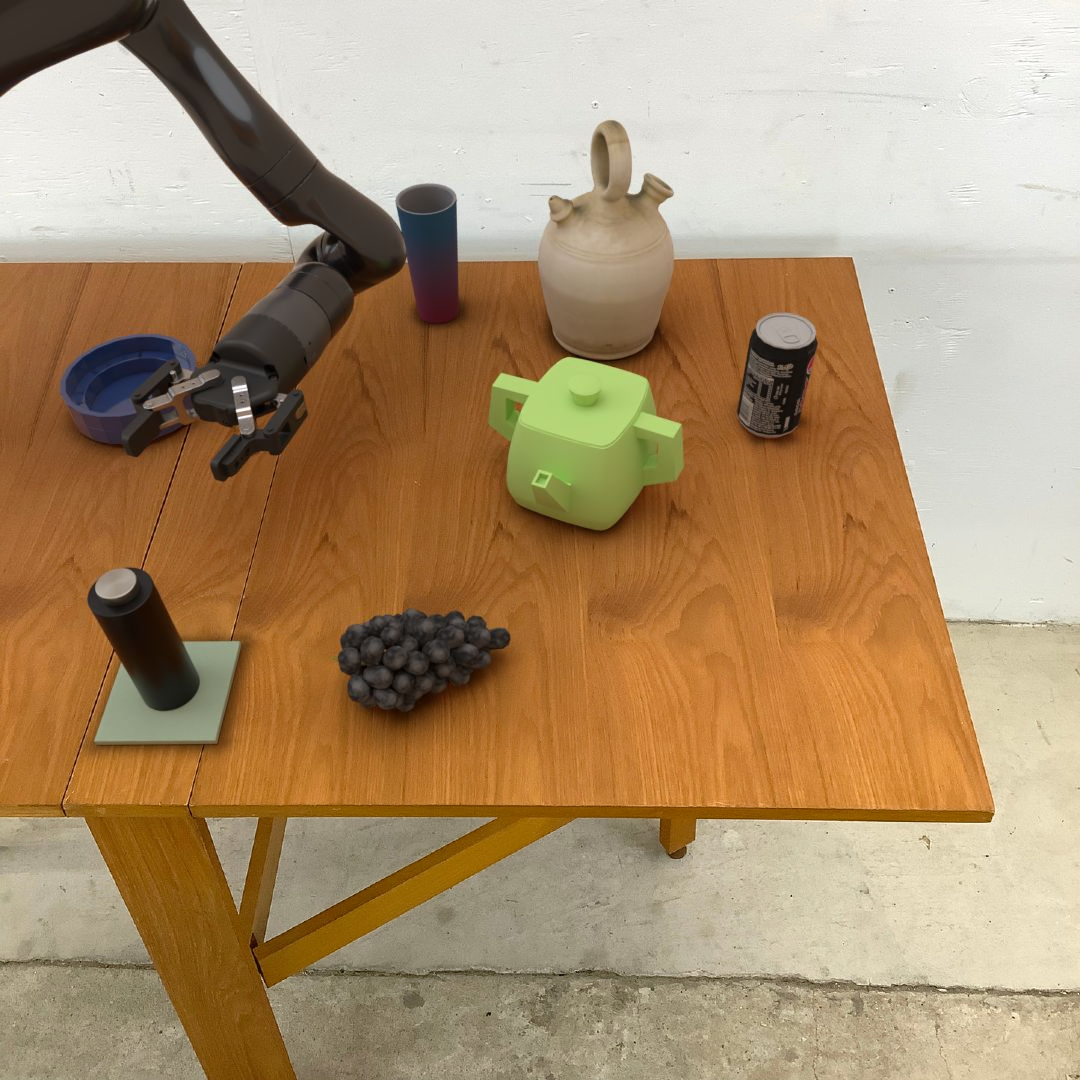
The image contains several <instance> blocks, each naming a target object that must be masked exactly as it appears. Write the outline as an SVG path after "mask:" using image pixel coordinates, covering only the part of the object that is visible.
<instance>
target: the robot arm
mask: <svg viewBox="0 0 1080 1080" xmlns="http://www.w3.org/2000/svg"><path fill="white" fill-rule="evenodd" d="M115 42H117V43H118V44H120V45H121V46H122V47H123V48H124V49H126V50H127V51H128V52H129V53H130V54H131V55H133V56H134V57H135V58H136V59H137V60H138V61H140V62H141V63H142V64H143V65H144V66H145V67H146V68H147V69H148V70H149V71H150V72H151V73H152V74H153V75H154V76H155V77H156V78H157V79H158V80H159V82H160V83H162V85H163V86H164V87H165V88H166V89H167V90H168V92H170V94H171V95H172V96H173V97H174V99H175V100H176V101H177V102H178V104H179V105H180V106H181V107H182V108H183V110H184V112H186V114H187V115H188V116H189V118H190V119H191V121H192V122H193V124H195V126H196V128H197V129H198V130H199V131H200V133H201V134H202V136H203V138H205V140H206V141H207V143H208V144H209V145H210V147H211V149H212V150H213V151H214V152H215V154H216V155H217V156H218V158H219V159H220V161H222V162H223V164H224V165H225V166H226V167H227V169H228V170H229V171H230V172H231V173H232V174H233V175H234V176H235V178H236V179H237V180H238V181H239V182H240V183H241V185H243V186H244V187H245V189H246V190H248V192H249V193H250V194H251V195H252V196H253V197H254V198H255V199H256V201H258V202H259V203H260V204H261V205H262V206H263V207H264V208H265V209H266V210H267V211H268V213H269V214H271V216H273V217H274V218H275V220H276V221H278V222H279V223H280V224H282V225H284V226H286V227H291V228H292V227H299V226H304V225H313V226H316V227H318V228H320V229H322V230H324V231H323V232H321V233H320V234H318V235H317V236H316V237H315V238H314V239H313V240H311V242H309V244H308V245H307V246H306V247H305V248H304V249H303V250H302V252H301V253H300V255H299V257H298V258H297V260H296V262H295V263H294V265H293V267H292V269H291V271H290V272H289V273H288V274H286V275H285V277H284V278H283V279H281V280H280V282H278V284H277V285H276V286H274V288H273V289H272V290H271V291H270V292H269V293H268V294H266V295H265V296H263V297H262V298H261V299H259V300H258V301H257V302H256V303H254V304H253V305H252V307H251V308H250V309H248V310H247V312H246V313H245V314H244V315H243V316H242V317H241V318H240V319H239V320H238V321H237V322H236V323H235V324H234V325H233V326H232V327H231V328H230V330H229V331H227V333H226V334H224V335H223V337H222V338H221V339H220V340H219V341H218V342H216V343H215V345H214V347H213V348H212V352H211V353H210V356H209V359H208V360H207V361H208V362H207V363H206V364H204V365H203V366H201V367H199V369H197V370H195V371H194V372H193V371H189V370H186V369H183V368H181V365H180V362H179V360H177V359H171V360H168V361H167V362H166V363H165V364H164V365H162V366H161V367H160V368H159V369H158V370H157V371H156V372H155V373H154V374H152V375H151V376H150V377H149V378H148V379H147V380H146V381H145V382H143V383H142V384H141V385H140V386H139V387H138V388H137V389H136V390H135V391H133V392H132V393H131V395H130V398H131V400H132V403H133V405H134V408H135V410H136V413H137V415H138V416H137V417H136V418H135V419H134V420H133V421H132V422H131V423H130V424H129V425H128V426H127V427H126V428H125V429H124V430H123V431H122V434H121V437H122V438H121V442H122V444H121V445H122V447H123V448H124V451H125V453H126V455H127V456H130V457H132V458H133V457H134V458H138V457H139V456H140V455H141V454H142V453H143V452H144V451H145V450H146V449H147V448H148V447H149V446H150V444H151V443H153V441H154V440H156V439H157V438H156V437H157V436H158V435H159V434H160V433H161V429H164V428H166V427H169V426H172V425H174V424H177V423H181V424H183V425H182V426H187V425H190V424H193V423H196V422H198V421H204V422H207V423H217V424H220V425H222V426H223V427H227V428H230V429H231V428H233V427H235V426H238V429H239V434H237V433H233V434H232V435H231V436H230V437H229V438H228V440H227V441H226V442H225V443H224V444H223V446H222V447H221V448H220V449H219V450H218V451H217V452H216V454H215V455H214V456H213V457H212V458H211V460H210V463H209V467H210V471H211V473H212V476H213V478H214V480H215V481H218V482H222V483H225V482H227V480H228V479H229V478H233V477H235V476H236V475H237V474H238V473H239V472H240V471H241V469H242V468H243V467H244V466H245V464H247V462H248V461H249V459H250V458H251V457H252V456H257V455H259V454H260V453H261V452H268V454H269V455H270V456H273V457H277V456H280V455H282V453H284V451H285V449H286V448H287V446H288V445H289V444H290V442H291V441H292V439H293V438H294V437H295V435H296V434H297V433H298V432H299V430H300V428H301V426H302V425H303V424H304V422H305V421H306V419H307V418H308V417H309V412H308V408H307V404H306V399H305V396H304V392H303V390H301V389H298V388H297V386H298V385H299V384H300V383H301V382H302V381H303V379H304V378H305V377H306V375H308V373H310V371H311V370H312V368H313V367H314V366H315V365H316V364H317V362H318V361H319V360H320V358H321V356H323V353H324V351H325V350H326V348H327V347H328V346H329V344H330V343H331V342H332V340H333V339H334V338H335V337H336V336H337V334H338V333H340V331H341V330H342V329H343V328H344V326H345V325H346V323H347V322H348V321H349V319H350V317H351V316H352V313H353V310H354V307H355V298H356V297H357V296H359V295H360V294H362V293H363V292H366V291H368V290H370V289H371V288H373V287H375V286H377V285H380V284H382V283H384V282H385V281H388V280H389V279H392V278H393V277H394V276H396V275H397V274H399V273H400V272H401V271H402V269H403V268H404V266H405V265H406V261H407V249H406V243H405V239H404V237H403V234H402V232H401V227H399V225H398V224H397V222H396V221H395V219H394V218H393V217H392V216H391V215H390V214H389V213H388V212H387V211H386V210H385V209H384V208H383V207H381V205H379V204H378V203H377V202H375V201H373V200H372V199H371V198H369V197H368V196H366V195H365V194H364V193H362V192H361V191H359V190H358V189H356V188H355V187H354V186H352V185H351V184H350V183H348V182H346V181H345V180H343V179H342V178H341V177H339V176H337V175H336V174H335V173H333V172H332V171H330V170H329V169H327V167H326V166H324V163H322V162H321V160H320V159H319V158H318V157H317V156H316V155H315V154H314V152H313V151H312V150H311V149H310V148H309V147H308V145H306V143H305V142H304V141H303V140H302V139H301V138H300V137H299V135H298V134H297V133H296V132H295V131H294V130H293V129H292V127H291V126H289V124H288V123H287V121H285V120H284V118H282V116H281V115H279V113H278V112H277V111H276V110H275V109H274V107H272V105H270V103H269V102H268V101H267V100H266V99H265V98H264V97H263V95H261V94H260V93H259V91H258V90H257V89H256V88H255V87H254V86H253V85H252V83H250V82H249V80H248V79H247V78H246V77H245V76H244V75H243V74H242V73H241V72H240V70H238V68H237V67H236V66H235V65H234V64H233V63H232V61H231V60H230V59H229V57H228V56H227V55H226V54H225V53H224V52H223V51H222V49H221V48H220V47H219V45H218V44H217V43H216V42H215V41H214V39H213V38H212V36H210V34H209V33H208V31H207V30H206V29H205V28H204V26H203V25H202V24H201V22H200V21H199V19H198V18H197V17H196V16H195V14H194V12H192V10H191V8H190V7H189V6H188V4H187V3H186V1H185V0H0V99H1V98H2V97H4V96H5V94H7V93H8V92H9V91H10V90H12V89H13V88H14V87H16V86H18V85H19V84H21V83H22V82H23V81H25V80H27V79H29V78H30V77H32V76H35V75H36V74H38V73H41V72H43V71H44V70H46V69H49V68H51V67H54V66H56V65H57V64H60V63H63V62H66V61H68V60H69V59H72V58H74V57H77V56H79V55H80V56H81V55H82V54H85V53H87V52H90V51H92V50H95V49H98V48H101V47H103V46H106V45H108V44H112V43H115ZM296 388H297V389H296ZM151 394H152V398H151V399H149V398H148V397H149V396H150V395H151ZM190 394H191V402H192V404H193V407H194V408H193V409H190V410H186V408H185V406H184V403H183V399H184V397H185V396H187V395H190ZM170 406H174V411H172V412H169V413H167V414H164V415H162V412H161V409H164V408H167V407H170ZM272 413H273V414H272ZM270 414H272V415H271V417H270V418H269V419H268V421H267V422H266V424H265V425H264V426H263V428H259V427H258V419H259V418H261V417H264V416H266V415H270ZM155 438H156V439H155Z"/></svg>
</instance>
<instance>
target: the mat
mask: <svg viewBox="0 0 1080 1080" xmlns="http://www.w3.org/2000/svg"><path fill="white" fill-rule="evenodd" d="M182 642H183V644H184V646H185V648H186V650H187V652H188V654H189V656H190V658H191V660H192V662H193V664H194V666H195V668H196V670H197V672H198V675H199V678H200V684H199V688H198V691H197V693H196V694H195V696H194V697H193V698H192V699H191V700H190V701H189V702H188V703H187V704H185V705H184V706H182V707H180V708H177V709H174V710H170V711H157V710H154V709H152V708H150V707H148V706H147V705H146V704H145V702H144V700H143V699H142V697H141V695H140V694H139V692H138V690H137V688H136V687H135V685H134V683H133V682H132V680H131V678H130V676H129V675H128V673H127V671H126V670H125V668H124V666H123V664H122V663H121V662H120V665H119V667H118V670H117V674H116V676H115V679H114V682H113V684H112V688H111V691H110V694H109V696H108V699H107V702H106V705H105V708H104V710H103V714H102V717H101V720H100V723H99V725H98V729H97V731H96V734H95V737H94V740H93V743H94V744H95V745H96V746H101V745H102V746H103V745H105V746H107V745H108V746H113V745H116V746H117V745H122V746H123V745H127V746H128V745H217V744H218V741H219V737H220V734H221V730H222V725H223V721H224V717H225V714H226V710H227V705H228V702H229V697H230V693H231V689H232V685H233V682H234V677H235V674H236V670H237V666H238V661H239V658H240V654H241V649H242V646H243V645H242V641H240V640H224V641H221V640H219V641H218V640H215V641H206V640H205V641H182Z"/></svg>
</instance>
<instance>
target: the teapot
mask: <svg viewBox="0 0 1080 1080" xmlns="http://www.w3.org/2000/svg"><path fill="white" fill-rule="evenodd" d="M516 402H517V403H519V404H522V405H523V406H522V408H521V409H520V412H519V411H518V410H516V409H515V407H516V406H515V405H516V404H515V403H516ZM489 403H490V404H489V409H488V411H489V412H488V420H487V423H488V424H487V425H488V426H490V427H491V428H492V429H493V430H495V431H496V432H497V433H499V434H500V435H501V436H502V437H504V438H505V439H506V440H508V441H509V442H510V446H509V449H508V454H507V455H508V456H507V465H506V486H507V489H508V492H509V494H510V496H511V497H512V499H513V500H514V501H515V502H516V503H517V505H519V506H521V507H523V508H525V509H527V510H530V511H532V512H535V513H537V514H541V515H543V516H545V517H550V518H551V519H554V520H558V521H561V522H563V523H567V524H570V525H575V526H578V527H582V528H584V529H585V528H586V529H590V530H594V531H605V530H608V529H610V528H611V527H613V526H614V525H615V524H616V523H618V521H619V520H620V519H621V518H622V517H623V516H624V514H625V513H626V512H627V511H628V510H629V508H630V507H631V506H632V504H634V502H635V500H636V499H637V498H638V496H639V495H640V493H641V491H642V490H643V489H644V486H652V485H658V484H665V483H666V484H667V483H671V482H676V481H677V480H678V478H679V477H680V475H681V473H682V472H683V470H684V468H685V459H684V439H683V425H682V423H680V422H676V421H673V420H670V419H667V418H663V417H660V416H658V413H657V408H656V404H655V399H654V395H653V392H652V389H651V385H650V383H649V380H648V379H647V378H646V377H644V376H642V375H639V374H636V373H635V372H630V371H628V370H625V369H621V368H618V367H613V366H610V365H608V364H607V365H606V364H604V363H599V362H595V361H592V360H587V359H582V358H578V357H571V356H567V357H565V358H561V359H560V360H559V361H557V362H556V363H555V364H554V365H552V366H551V367H550V368H549V369H548V370H547V371H546V373H545V374H544V375H543V376H542V377H541V378H540V379H539V381H534V380H530V379H527V378H523V377H519V376H515V375H512V374H507V373H504V372H500V373H499V376H498V377H497V378H496V379H495V381H494V382H493V384H492V385H491V391H490V402H489Z"/></svg>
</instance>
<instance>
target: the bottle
mask: <svg viewBox="0 0 1080 1080" xmlns="http://www.w3.org/2000/svg"><path fill="white" fill-rule="evenodd" d="M86 600H87V606H88V608H89V609H90V611H91V613H92V615H93V616H94V618H95V619H96V621H97V624H98V625H99V627H100V628H101V630H102V632H103V634H104V635H105V637H106V638H107V641H108V642H109V644H110V645H111V647H112V649H113V651H114V653H115V654H116V656H117V657H118V659H119V661H120V664H121V663H122V664H123V666H124V668H125V670H126V671H127V673H128V675H129V676H130V678H131V680H132V682H133V683H134V685H135V687H136V688H137V690H138V692H139V694H140V695H141V697H142V699H143V700H144V702H145V704H146V705H147V706H148V707H150V708H152V709H154V710H157V711H170V710H174V709H177V708H180V707H182V706H184V705H185V704H187V703H188V702H189V701H190V700H191V699H192V698H193V697H194V696H195V694H196V693H197V691H198V688H199V684H200V678H199V675H198V672H197V670H196V668H195V666H194V664H193V662H192V660H191V658H190V656H189V654H188V652H187V650H186V648H185V646H184V644H183V642H184V641H183V640H182V638H181V635H180V634H179V632H178V630H177V628H176V625H175V623H174V621H173V619H172V617H171V615H170V613H169V611H168V608H167V607H166V604H165V602H164V601H163V599H162V596H161V595H160V592H159V590H158V588H157V586H156V584H155V583H154V579H153V578H152V576H151V575H150V574H149V573H148V572H147V571H145V570H144V569H141V568H138V567H133V566H132V567H131V566H130V567H128V566H127V567H126V566H125V567H117V568H113V569H110V570H108V571H106V572H105V573H103V574H101V576H100V577H99V578H97V580H95V582H94V583H93V584H92V585H91V587H90V589H89V590H88V593H87V599H86Z"/></svg>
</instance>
